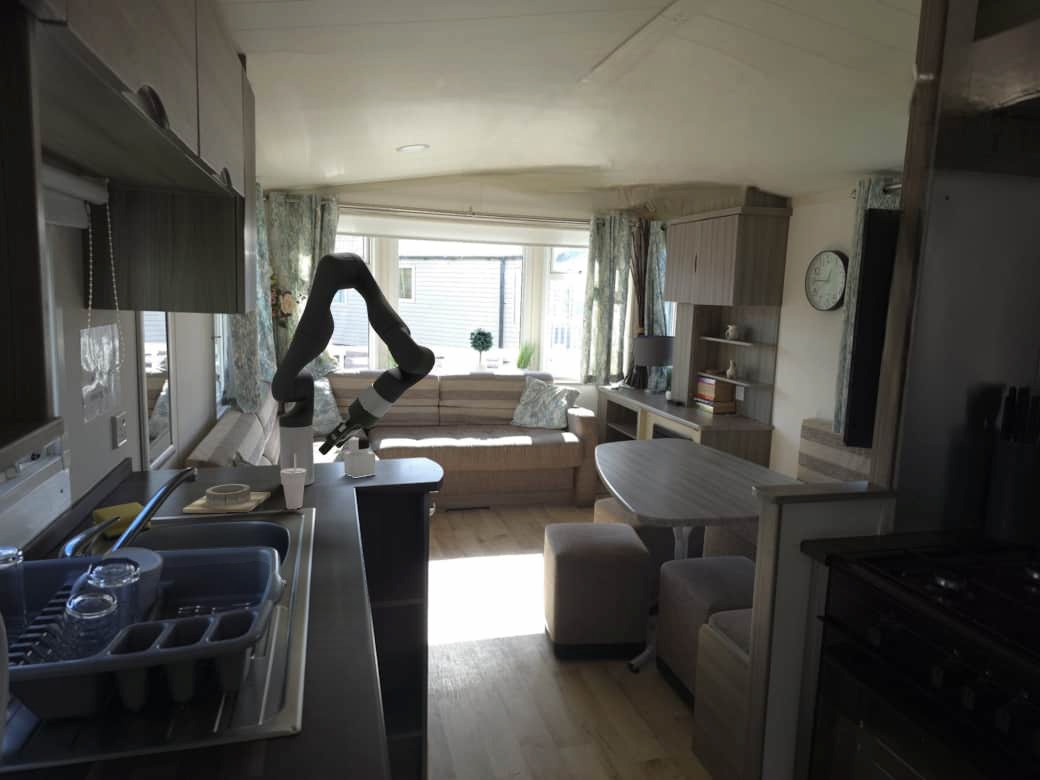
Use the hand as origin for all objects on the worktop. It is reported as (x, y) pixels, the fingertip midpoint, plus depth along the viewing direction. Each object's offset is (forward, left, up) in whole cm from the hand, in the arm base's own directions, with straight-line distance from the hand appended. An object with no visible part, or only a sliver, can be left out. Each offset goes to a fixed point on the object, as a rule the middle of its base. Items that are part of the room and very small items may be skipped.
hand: (328, 449), depth 168 cm
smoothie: (-2, -10, -16) cm, 19 cm away
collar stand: (-5, -28, -16) cm, 32 cm away
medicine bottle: (-37, -1, -16) cm, 40 cm away
